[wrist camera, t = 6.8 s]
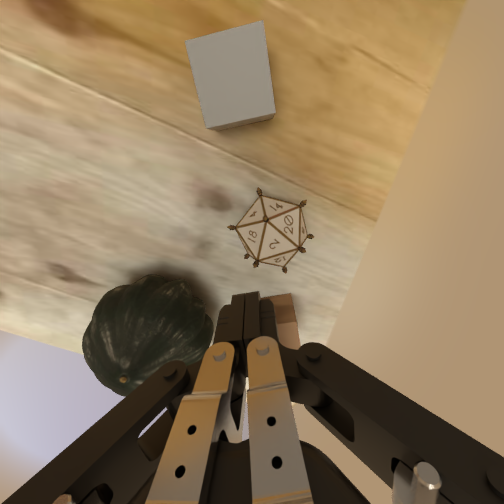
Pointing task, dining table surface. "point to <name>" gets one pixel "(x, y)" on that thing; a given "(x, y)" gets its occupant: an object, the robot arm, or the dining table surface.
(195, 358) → the squash
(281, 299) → the walnut cube
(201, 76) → the slate cube
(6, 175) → the dining table surface
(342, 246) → the dining table surface
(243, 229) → the game die
